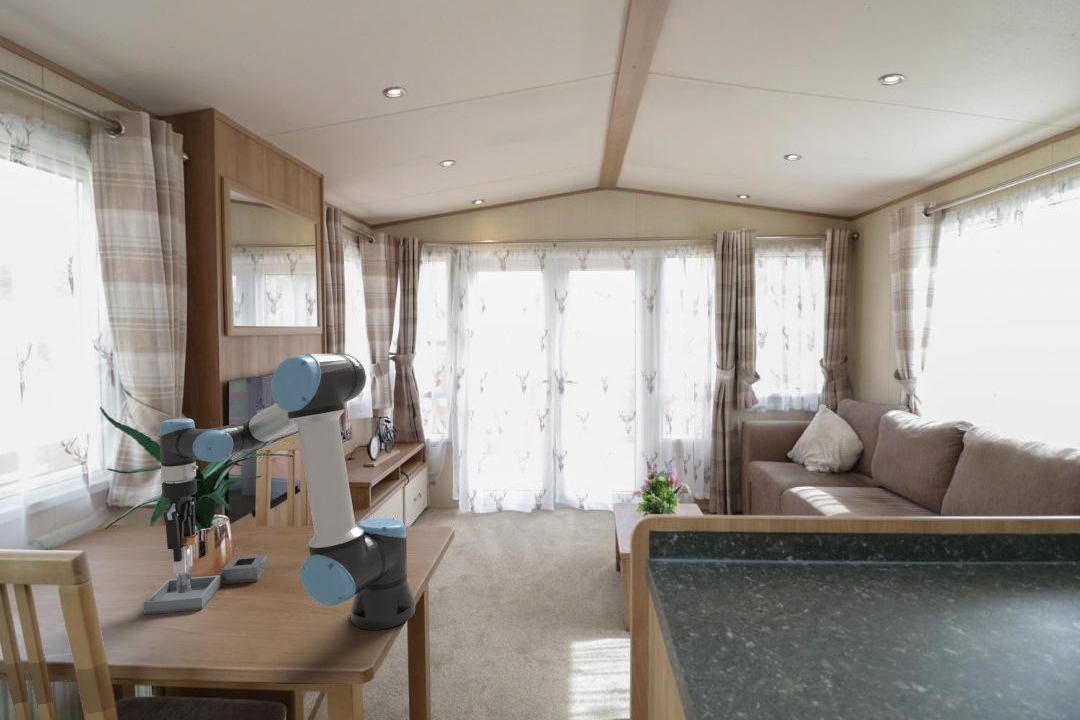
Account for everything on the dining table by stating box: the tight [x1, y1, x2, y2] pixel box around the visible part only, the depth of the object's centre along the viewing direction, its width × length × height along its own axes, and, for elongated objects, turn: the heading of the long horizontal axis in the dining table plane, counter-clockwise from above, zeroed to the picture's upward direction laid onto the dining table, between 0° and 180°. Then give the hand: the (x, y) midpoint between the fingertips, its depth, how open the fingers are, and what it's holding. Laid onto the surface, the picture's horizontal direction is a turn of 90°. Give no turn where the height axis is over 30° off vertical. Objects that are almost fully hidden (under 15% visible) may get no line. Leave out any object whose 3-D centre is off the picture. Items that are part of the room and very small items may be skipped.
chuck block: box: [221, 554, 268, 585], centre depth 160 cm, size 9×9×4 cm
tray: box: [143, 574, 222, 615], centre depth 146 cm, size 13×13×3 cm
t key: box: [175, 535, 198, 593], centre depth 145 cm, size 6×3×14 cm, turn 109°
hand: (183, 569), depth 145 cm, fingers closed on t key, 3 cm apart
